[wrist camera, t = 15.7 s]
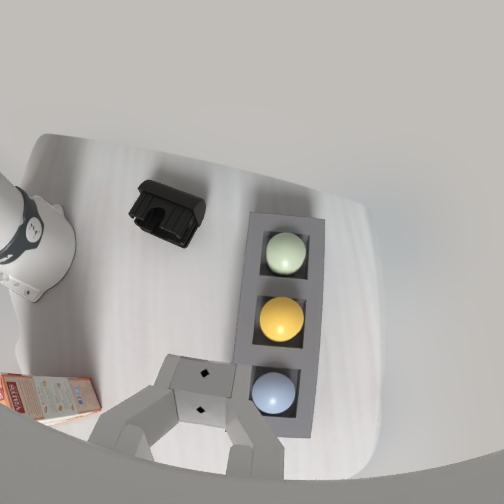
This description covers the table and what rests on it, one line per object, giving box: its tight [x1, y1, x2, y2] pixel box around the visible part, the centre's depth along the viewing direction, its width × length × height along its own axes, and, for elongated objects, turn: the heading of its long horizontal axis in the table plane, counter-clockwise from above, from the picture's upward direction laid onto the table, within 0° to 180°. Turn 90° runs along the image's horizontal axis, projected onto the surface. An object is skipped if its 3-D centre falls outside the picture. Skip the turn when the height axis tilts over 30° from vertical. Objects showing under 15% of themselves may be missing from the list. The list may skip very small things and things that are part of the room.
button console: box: [225, 212, 325, 438], centre depth 41 cm, size 10×28×8 cm, turn 174°
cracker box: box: [0, 373, 101, 426], centre depth 30 cm, size 14×6×21 cm, turn 114°
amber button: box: [260, 297, 304, 342], centre depth 36 cm, size 5×5×4 cm
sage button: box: [266, 233, 306, 278], centre depth 41 cm, size 5×5×4 cm
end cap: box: [129, 180, 206, 248], centre depth 48 cm, size 10×7×7 cm
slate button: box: [252, 372, 295, 414], centre depth 35 cm, size 5×5×4 cm
